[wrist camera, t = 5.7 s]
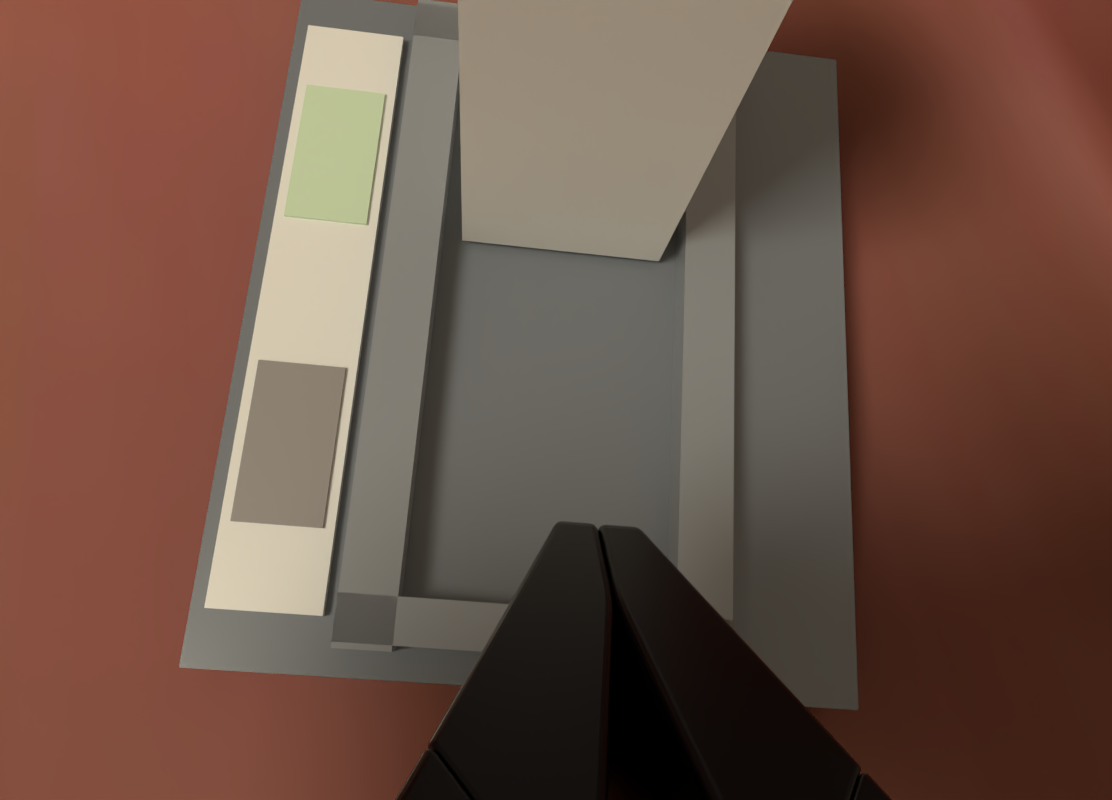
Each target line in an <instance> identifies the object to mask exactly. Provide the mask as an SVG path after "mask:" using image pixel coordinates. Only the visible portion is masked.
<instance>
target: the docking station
mask: <svg viewBox="0 0 1112 800" xmlns="http://www.w3.org/2000/svg"><path fill="white" fill-rule="evenodd" d="M559 521H567V522H579V523H591V524H593V525H595V526H596V527H597V529H599V527H600V526H602V525H617V526H630V527H637V528H639V529H641V530H642V531H643V532H644V533H645V534H646V535H647V536H648V537H649V538H650V540H651V541H652V542H653V543H654V544H655V545H656V546H657V547H658V548H659V549H660V550H661V551H662V552H663V554H664V555H665V556H666V557H667V558H668V559H669V560H670V561H671V562H672V563H673V564H674V565H675V567H676V568H677V569H678V570H679V571H680V572H681V573H682V574H683V575H684V576H685V577H686V578H687V580H688V581H689V582H690V583H691V584H692V585H693V586H694V587H695V588H696V589H697V590H698V591H699V593H700V594H701V595H702V596H703V597H704V598H705V599H706V600H707V601H708V602H709V603H710V604H711V605H712V607H713V608H714V609H715V610H716V611H717V612H718V613H719V614H720V615H721V616H722V617H723V618H724V620H725V621H726V622H727V623H728V624H729V625H730V626H731V627H732V628H733V629H734V630H735V631H736V633H737V634H738V635H739V636H740V637H741V638H742V639H743V640H744V641H745V642H746V643H747V644H748V645H749V647H750V648H751V649H752V650H753V651H754V652H755V653H756V654H757V655H758V656H759V657H760V658H761V660H762V661H763V662H764V663H765V664H766V665H767V666H768V667H769V668H770V669H771V670H772V671H773V673H774V674H775V675H776V676H777V677H778V678H779V679H780V680H781V681H782V682H783V683H784V684H785V685H786V687H787V688H788V689H789V690H790V691H791V692H792V693H793V694H794V695H795V696H796V697H797V698H798V700H799V701H800V702H801V703H802V704H803V705H804V706H805V707H815V708H831V709H847V710H858V681H857V652H856V622H855V593H854V564H853V534H852V505H851V476H850V447H849V417H848V388H847V359H846V330H845V300H844V271H843V242H842V212H841V183H840V154H839V125H838V95H837V66H836V60H834V59H827V58H819V57H811V56H803V55H795V54H787V53H780V52H772V51H767V52H766V54H765V56H764V57H763V59H762V61H761V63H760V65H759V67H758V69H757V71H756V73H755V75H754V77H753V79H752V81H751V83H750V85H749V87H748V89H747V91H746V93H745V94H744V96H743V98H742V100H741V102H740V104H739V106H738V108H737V110H736V112H735V114H734V116H733V118H732V120H731V122H730V124H729V126H728V128H727V130H726V131H725V133H724V135H723V137H722V139H721V141H720V143H719V145H718V147H717V149H716V151H715V153H714V155H713V157H712V159H711V161H710V163H709V165H708V167H707V168H706V170H705V172H704V174H703V176H702V178H701V180H700V182H699V184H698V186H697V188H696V190H695V192H694V194H693V196H692V198H691V200H690V202H689V204H688V206H687V207H686V209H685V211H684V213H683V215H682V217H681V219H680V221H679V223H678V225H677V227H676V229H675V231H674V233H673V235H672V237H671V239H670V241H669V243H668V244H667V246H666V248H665V250H664V252H663V254H662V256H661V258H660V260H659V261H651V260H642V259H633V258H623V257H614V256H604V255H595V254H585V253H576V252H566V251H557V250H548V249H538V248H529V247H519V246H510V245H500V244H491V243H482V242H472V241H463V240H462V201H461V143H460V86H459V28H458V4H455V3H448V2H440V1H432V0H418V6H413V5H405V4H397V3H389V2H381V1H374V0H301V4H300V10H299V15H298V20H297V26H296V31H295V37H294V42H293V48H292V53H291V59H290V64H289V70H288V75H287V80H286V86H285V91H284V97H283V102H282V108H281V113H280V119H279V124H278V129H277V135H276V140H275V146H274V151H273V157H272V162H271V168H270V173H269V179H268V184H267V189H266V195H265V200H264V206H263V211H262V217H261V222H260V228H259V233H258V239H257V244H256V249H255V255H254V260H253V266H252V271H251V277H250V282H249V288H248V293H247V298H246V304H245V309H244V315H243V320H242V326H241V331H240V337H239V342H238V348H237V353H236V358H235V364H234V369H233V375H232V380H231V386H230V391H229V397H228V402H227V408H226V413H225V418H224V424H223V429H222V435H221V440H220V446H219V451H218V457H217V462H216V467H215V473H214V478H213V484H212V489H211V495H210V500H209V506H208V511H207V517H206V522H205V527H204V533H203V538H202V544H201V549H200V555H199V560H198V566H197V571H196V576H195V582H194V587H193V593H192V598H191V604H190V609H189V615H188V620H187V626H186V631H185V636H184V642H183V647H182V653H181V658H180V664H179V667H180V668H196V669H212V670H228V671H244V672H260V673H276V674H291V675H307V676H323V677H339V678H355V679H371V680H387V681H402V682H418V683H434V684H450V685H463V683H464V681H465V680H466V678H467V676H468V674H469V673H470V671H471V669H472V667H473V666H474V664H475V662H476V660H477V659H478V657H479V655H480V654H481V652H482V650H483V648H484V647H485V645H486V643H487V641H488V640H489V638H490V636H491V634H492V633H493V631H494V629H495V627H496V626H497V624H498V622H499V620H500V619H501V617H502V615H503V614H504V612H505V610H506V608H507V607H508V605H509V603H510V601H511V600H512V598H513V596H514V594H515V593H516V591H517V589H518V587H519V586H520V584H521V582H522V580H523V579H524V577H525V575H526V574H527V572H528V570H529V568H530V567H531V565H532V563H533V561H534V560H535V558H536V556H537V554H538V553H539V551H540V549H541V547H542V546H543V544H544V542H545V540H546V539H547V537H548V535H549V534H550V532H551V530H552V528H553V527H554V525H555V524H556V523H557V522H559Z"/></svg>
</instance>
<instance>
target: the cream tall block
mask: <svg viewBox="0 0 1112 800" xmlns="http://www.w3.org/2000/svg"><path fill="white" fill-rule="evenodd" d="M792 1H793V0H458V28H459V86H460V143H461V201H462V240H463V241H472V242H482V243H491V244H500V245H510V246H519V247H529V248H538V249H548V250H557V251H566V252H576V253H585V254H595V255H604V256H614V257H623V258H633V259H642V260H651V261H659V260H660V258H661V256H662V254H663V252H664V250H665V248H666V246H667V244H668V243H669V241H670V239H671V237H672V235H673V233H674V231H675V229H676V227H677V225H678V223H679V221H680V219H681V217H682V215H683V213H684V211H685V209H686V207H687V206H688V204H689V202H690V200H691V198H692V196H693V194H694V192H695V190H696V188H697V186H698V184H699V182H700V180H701V178H702V176H703V174H704V172H705V170H706V168H707V167H708V165H709V163H710V161H711V159H712V157H713V155H714V153H715V151H716V149H717V147H718V145H719V143H720V141H721V139H722V137H723V135H724V133H725V131H726V130H727V128H728V126H729V124H730V122H731V120H732V118H733V116H734V114H735V112H736V110H737V108H738V106H739V104H740V102H741V100H742V98H743V96H744V94H745V93H746V91H747V89H748V87H749V85H750V83H751V81H752V79H753V77H754V75H755V73H756V71H757V69H758V67H759V65H760V63H761V61H762V59H763V57H764V56H765V54H766V52H767V50H768V48H769V46H770V44H771V42H772V40H773V38H774V36H775V34H776V32H777V30H778V28H779V26H780V24H781V22H782V20H783V18H784V17H785V15H786V13H787V11H788V9H789V7H790V5H791V3H792Z"/></svg>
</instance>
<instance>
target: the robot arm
mask: <svg viewBox="0 0 1112 800" xmlns="http://www.w3.org/2000/svg"><path fill="white" fill-rule="evenodd" d="M860 771H861V768H860V766H859V764H858V763H857V762H856V761H855V760H854V759H853V758H852V757H851V756H850V755H849V754H848V753H847V751H846V750H845V749H844V748H843V747H842V746H841V745H840V744H839V743H838V742H837V741H836V740H835V738H834V737H833V736H832V735H831V734H830V733H829V732H828V731H827V730H826V729H825V728H824V727H823V725H822V724H821V723H820V722H819V721H818V720H817V719H816V718H815V717H814V716H813V715H812V714H811V713H810V711H809V710H808V709H807V708H806V707H805V706H804V705H803V704H802V703H801V702H800V701H799V700H798V698H797V697H796V696H795V695H794V694H793V693H792V692H791V691H790V690H789V689H788V688H787V687H786V685H785V684H784V683H783V682H782V681H781V680H780V679H779V678H778V677H777V676H776V675H775V674H774V673H773V671H772V670H771V669H770V668H769V667H768V666H767V665H766V664H765V663H764V662H763V661H762V660H761V658H760V657H759V656H758V655H757V654H756V653H755V652H754V651H753V650H752V649H751V648H750V647H749V645H748V644H747V643H746V642H745V641H744V640H743V639H742V638H741V637H740V636H739V635H738V634H737V633H736V631H735V630H734V629H733V628H732V627H731V626H730V625H729V624H728V623H727V622H726V621H725V620H724V618H723V617H722V616H721V615H720V614H719V613H718V612H717V611H716V610H715V609H714V608H713V607H712V605H711V604H710V603H709V602H708V601H707V600H706V599H705V598H704V597H703V596H702V595H701V594H700V593H699V591H698V590H697V589H696V588H695V587H694V586H693V585H692V584H691V583H690V582H689V581H688V580H687V578H686V577H685V576H684V575H683V574H682V573H681V572H680V571H679V570H678V569H677V568H676V567H675V565H674V564H673V563H672V562H671V561H670V560H669V559H668V558H667V557H666V556H665V555H664V554H663V552H662V551H661V550H660V549H659V548H658V547H657V546H656V545H655V544H654V543H653V542H652V541H651V540H650V538H649V537H648V536H647V535H646V534H645V533H644V532H643V531H642V530H641V529H639V528H637V527H630V526H617V525H602V526H600V527H599V529H597V527H596V526H595V525H593V524H591V523H579V522H567V521H559V522H557V523H556V524H555V525H554V527H553V528H552V530H551V532H550V534H549V535H548V537H547V539H546V540H545V542H544V544H543V546H542V547H541V549H540V551H539V553H538V554H537V556H536V558H535V560H534V561H533V563H532V565H531V567H530V568H529V570H528V572H527V574H526V575H525V577H524V579H523V580H522V582H521V584H520V586H519V587H518V589H517V591H516V593H515V594H514V596H513V598H512V600H511V601H510V603H509V605H508V607H507V608H506V610H505V612H504V614H503V615H502V617H501V619H500V620H499V622H498V624H497V626H496V627H495V629H494V631H493V633H492V634H491V636H490V638H489V640H488V641H487V643H486V645H485V647H484V648H483V650H482V652H481V654H480V655H479V657H478V659H477V660H476V662H475V664H474V666H473V667H472V669H471V671H470V673H469V674H468V676H467V678H466V680H465V681H464V683H463V685H462V687H461V688H460V690H459V692H458V694H457V695H456V697H455V699H454V700H453V702H452V704H451V706H450V707H449V709H448V711H447V713H446V714H445V716H444V718H443V720H442V721H441V723H440V725H439V727H438V728H437V730H436V732H435V734H434V735H433V737H432V739H431V741H430V742H429V745H428V749H427V750H425V751H424V752H423V753H422V755H421V757H420V759H419V760H418V762H417V764H416V766H415V767H414V769H413V771H412V772H411V774H410V776H409V778H408V779H407V781H406V783H405V785H404V786H403V788H402V789H401V791H400V793H399V794H398V796H397V797H396V799H395V800H891V799H890V797H889V796H888V795H887V794H886V793H885V792H884V791H883V790H882V789H881V788H880V787H879V786H878V784H877V783H876V782H875V781H874V780H873V779H872V778H871V777H870V776H869V775H868V774H865V773H863V774H861V775H860ZM859 775H860V776H859Z"/></svg>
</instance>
